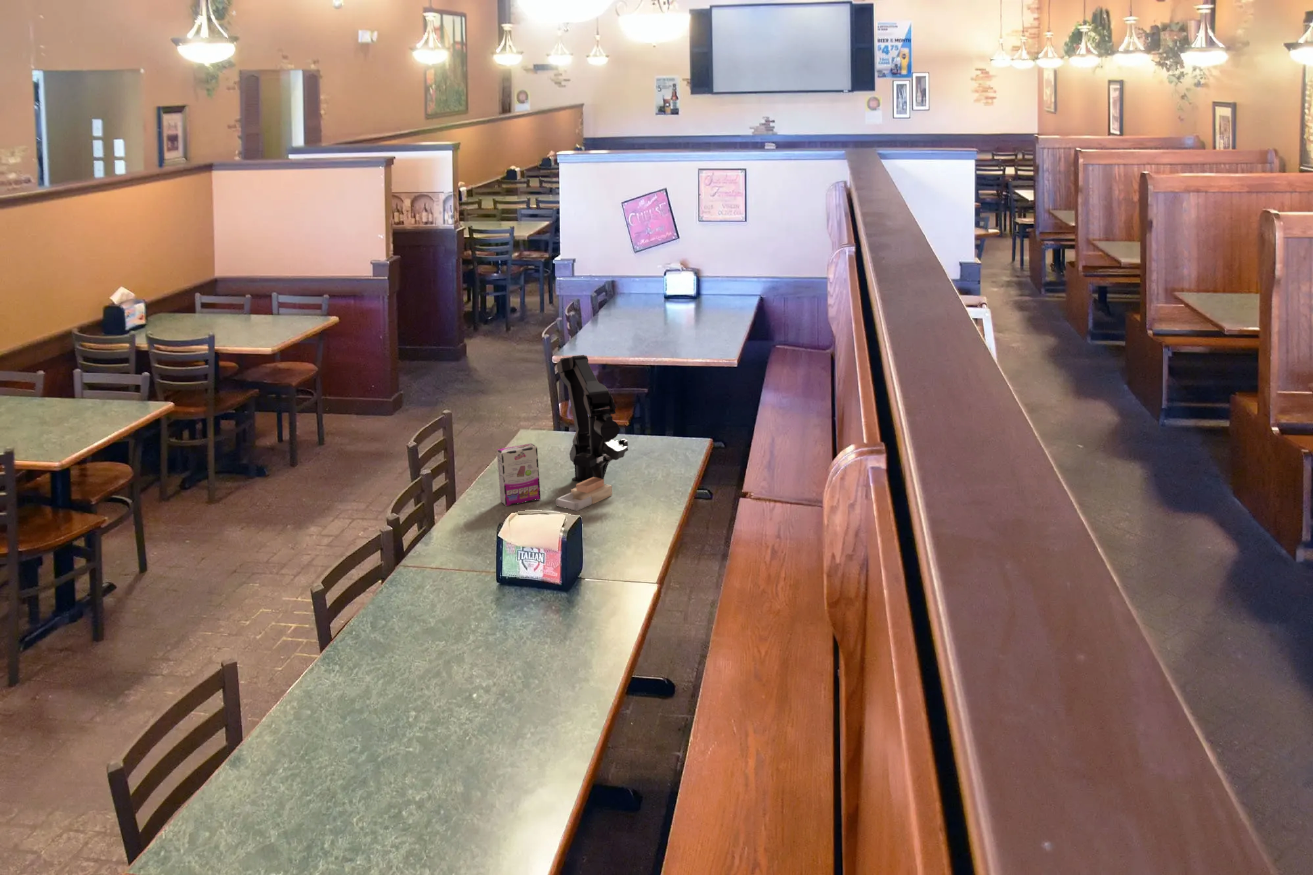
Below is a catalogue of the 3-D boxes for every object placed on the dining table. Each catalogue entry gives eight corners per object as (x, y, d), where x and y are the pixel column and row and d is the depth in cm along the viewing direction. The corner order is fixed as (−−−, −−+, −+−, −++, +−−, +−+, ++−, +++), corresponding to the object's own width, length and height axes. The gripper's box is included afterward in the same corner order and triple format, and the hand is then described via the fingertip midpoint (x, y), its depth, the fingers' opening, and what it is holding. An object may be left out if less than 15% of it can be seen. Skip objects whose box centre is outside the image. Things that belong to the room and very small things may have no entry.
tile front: (576, 490, 335) (576, 484, 335) (585, 486, 338) (584, 480, 338) (587, 493, 333) (586, 486, 332) (595, 489, 336) (595, 482, 335)
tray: (555, 506, 331) (555, 498, 331) (571, 499, 337) (570, 492, 336) (576, 510, 327) (576, 503, 326) (591, 504, 333) (591, 496, 332)
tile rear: (585, 486, 338) (584, 480, 338) (593, 483, 341) (593, 476, 341) (595, 489, 336) (595, 482, 335) (604, 485, 339) (603, 479, 339)
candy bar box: (534, 495, 341) (531, 442, 337) (541, 500, 337) (538, 446, 332) (499, 501, 336) (496, 448, 332) (505, 506, 332) (502, 452, 327)
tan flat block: (571, 499, 337) (570, 489, 336) (591, 490, 344) (590, 481, 343) (592, 504, 332) (592, 494, 332) (612, 495, 340) (611, 485, 339)
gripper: (601, 442, 325) (603, 494, 329) (639, 427, 339) (641, 477, 344) (570, 437, 331) (573, 488, 335) (609, 422, 345) (611, 471, 350)
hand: (600, 481), depth 341 cm, fingers closed
